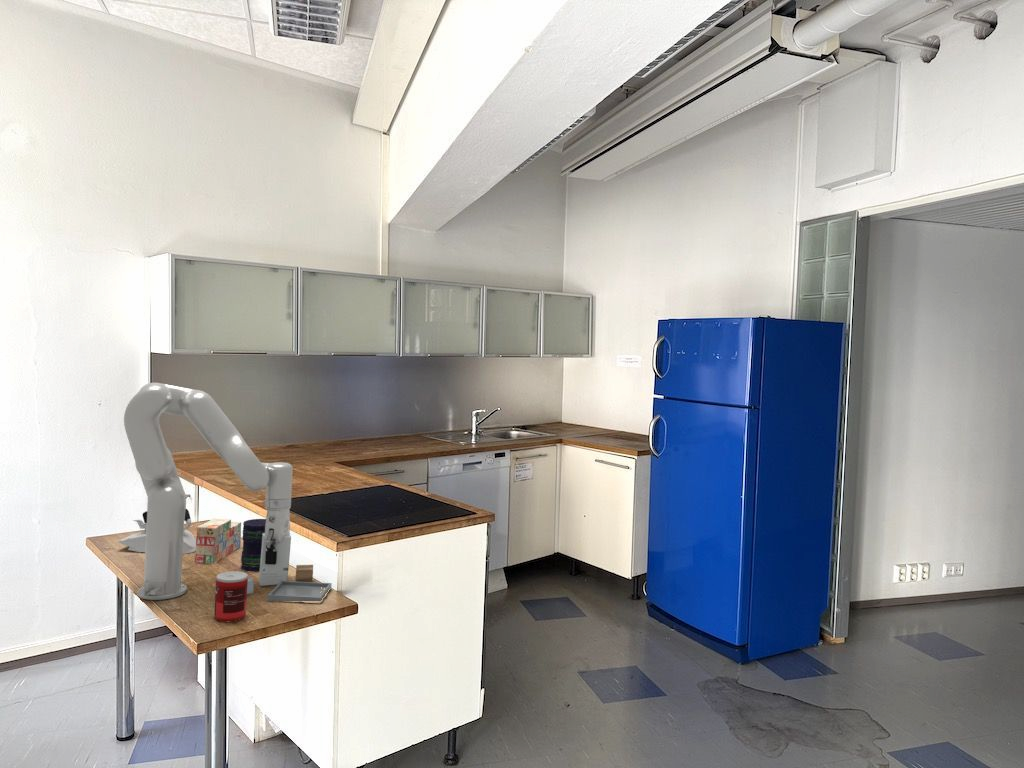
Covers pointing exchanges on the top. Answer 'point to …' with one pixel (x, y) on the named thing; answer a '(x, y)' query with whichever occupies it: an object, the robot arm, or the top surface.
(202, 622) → the top surface
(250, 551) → the storage jar
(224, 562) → the top surface
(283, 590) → the slate tray
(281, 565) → the skincare box
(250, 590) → the blue-grey painted block
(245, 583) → the canned food
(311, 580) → the walnut block
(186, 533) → the iron
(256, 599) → the top surface
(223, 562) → the top surface
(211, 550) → the stack of blocks
